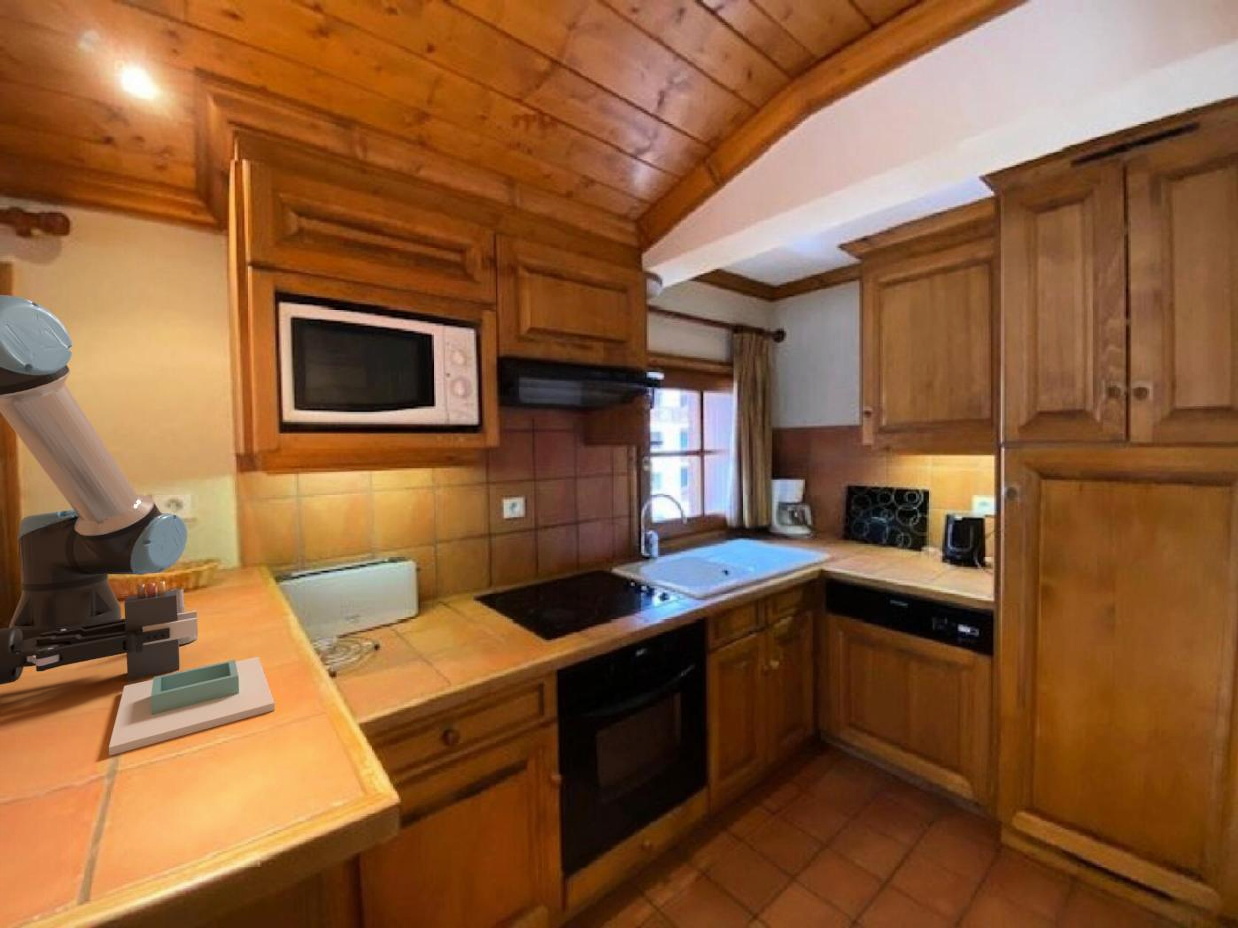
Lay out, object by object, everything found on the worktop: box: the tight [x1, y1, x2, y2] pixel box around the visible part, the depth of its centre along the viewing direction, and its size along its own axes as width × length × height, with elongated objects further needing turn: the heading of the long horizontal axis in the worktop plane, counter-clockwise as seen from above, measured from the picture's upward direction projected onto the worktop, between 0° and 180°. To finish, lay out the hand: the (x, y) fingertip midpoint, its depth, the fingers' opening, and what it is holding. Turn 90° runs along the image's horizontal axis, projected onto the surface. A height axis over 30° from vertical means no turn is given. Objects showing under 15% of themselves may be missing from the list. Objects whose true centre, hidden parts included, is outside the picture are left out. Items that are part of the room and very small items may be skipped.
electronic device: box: [170, 588, 199, 646], centre depth 98 cm, size 5×10×15 cm
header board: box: [108, 656, 276, 757], centre depth 73 cm, size 20×16×4 cm
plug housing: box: [123, 580, 181, 682], centre depth 82 cm, size 4×6×14 cm, turn 130°
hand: (196, 622), depth 86 cm, fingers closed on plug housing, 4 cm apart
